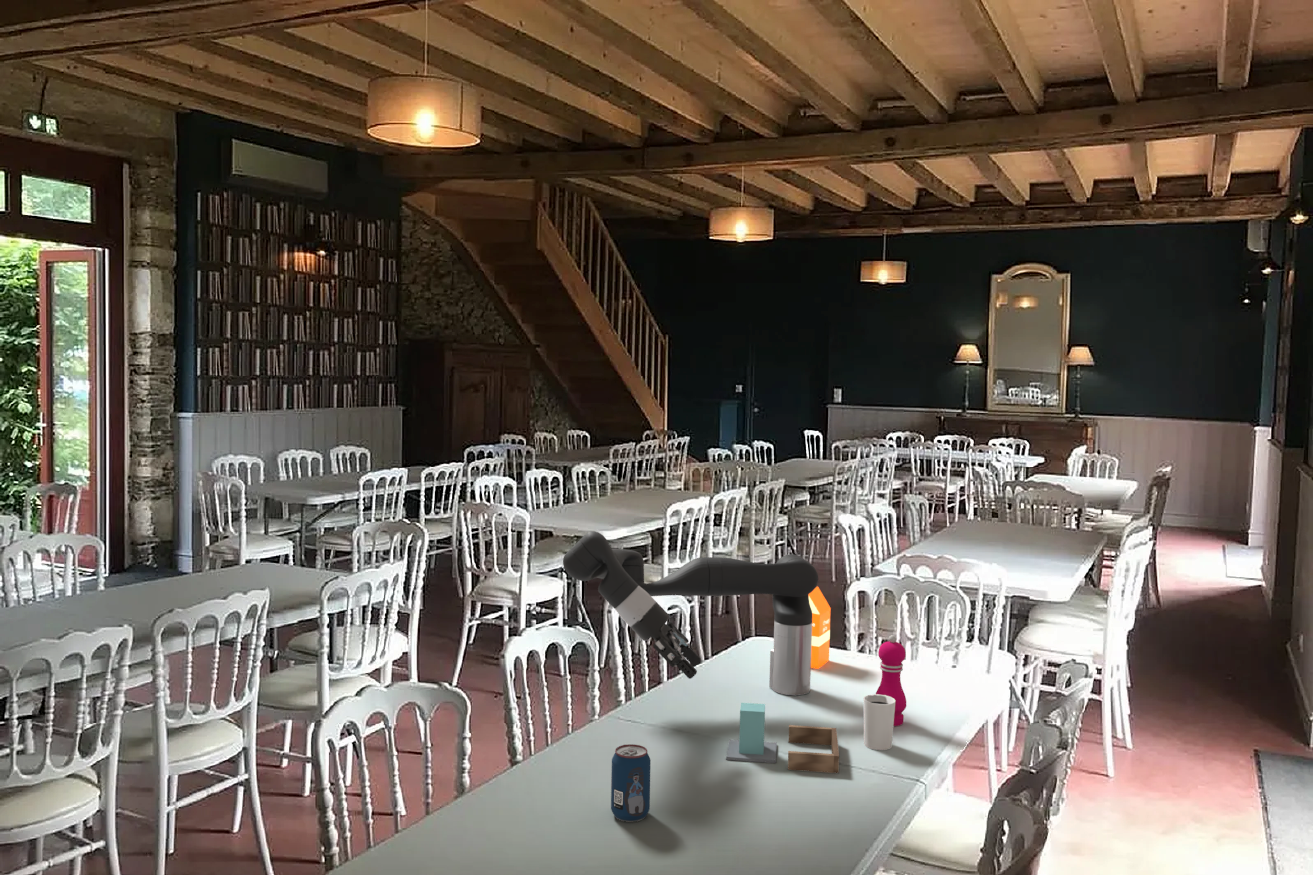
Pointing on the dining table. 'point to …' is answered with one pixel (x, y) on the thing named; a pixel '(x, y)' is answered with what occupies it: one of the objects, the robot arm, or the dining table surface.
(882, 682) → the pepper mill
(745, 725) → the teal block
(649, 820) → the dining table surface
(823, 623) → the orange juice
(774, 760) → the slate mat
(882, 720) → the white paper cup
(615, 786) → the soda can
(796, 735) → the walnut cubby
